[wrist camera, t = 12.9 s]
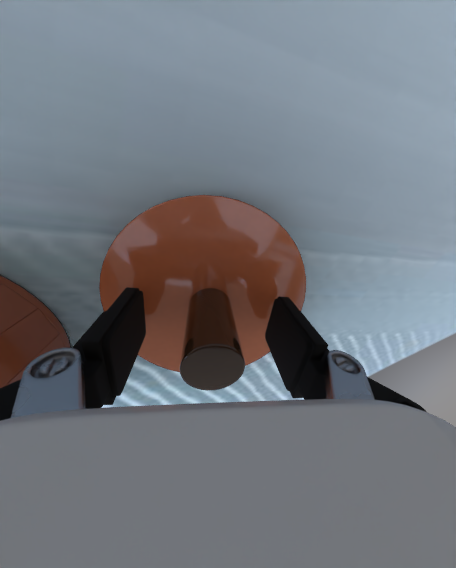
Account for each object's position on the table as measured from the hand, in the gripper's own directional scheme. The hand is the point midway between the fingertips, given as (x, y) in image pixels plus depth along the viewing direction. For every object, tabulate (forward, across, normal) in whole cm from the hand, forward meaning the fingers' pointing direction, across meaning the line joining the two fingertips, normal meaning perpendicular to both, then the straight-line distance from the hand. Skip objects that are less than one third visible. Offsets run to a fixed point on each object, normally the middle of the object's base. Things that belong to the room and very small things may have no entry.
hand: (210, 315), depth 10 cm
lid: (+2, 0, 0) cm, 2 cm away
